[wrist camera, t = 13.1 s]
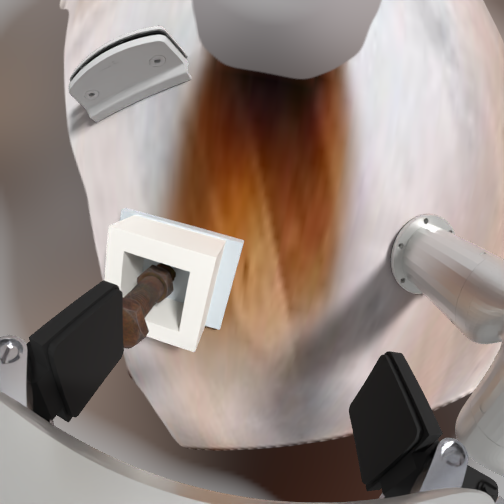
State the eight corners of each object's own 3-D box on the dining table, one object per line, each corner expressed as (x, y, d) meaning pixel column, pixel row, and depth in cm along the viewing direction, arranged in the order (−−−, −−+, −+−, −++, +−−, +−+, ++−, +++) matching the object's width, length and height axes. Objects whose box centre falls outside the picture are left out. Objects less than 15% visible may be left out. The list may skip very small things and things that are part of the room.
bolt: (164, 294, 39) (119, 355, 25) (142, 268, 38) (87, 319, 24) (192, 274, 38) (152, 333, 24) (169, 246, 37) (116, 292, 23)
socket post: (244, 240, 38) (237, 261, 29) (221, 324, 42) (211, 358, 34) (126, 207, 37) (94, 219, 29) (117, 290, 41) (91, 315, 33)
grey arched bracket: (94, 123, 33) (53, 96, 24) (95, 101, 34) (58, 72, 24) (193, 78, 31) (166, 32, 21) (190, 57, 32) (164, 13, 22)
